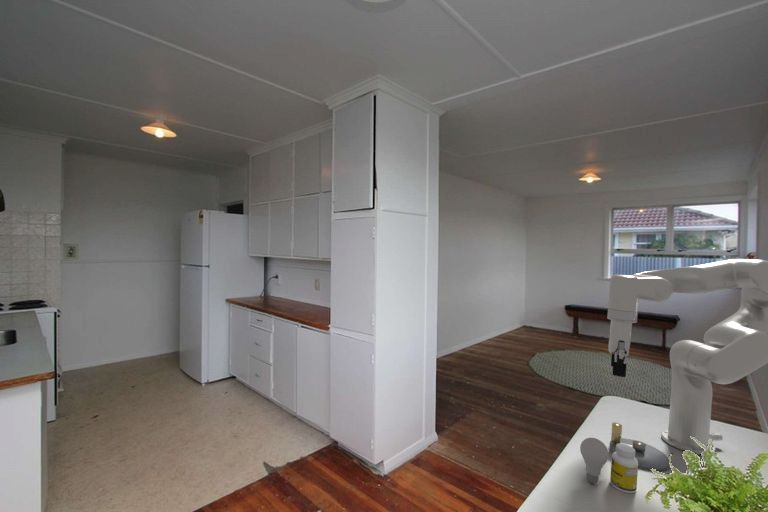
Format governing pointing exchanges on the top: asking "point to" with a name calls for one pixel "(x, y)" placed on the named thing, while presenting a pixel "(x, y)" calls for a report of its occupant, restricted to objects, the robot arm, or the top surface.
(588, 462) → the lightbulb
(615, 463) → the supplement bottle
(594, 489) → the top surface
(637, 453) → the dial plate
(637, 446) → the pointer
